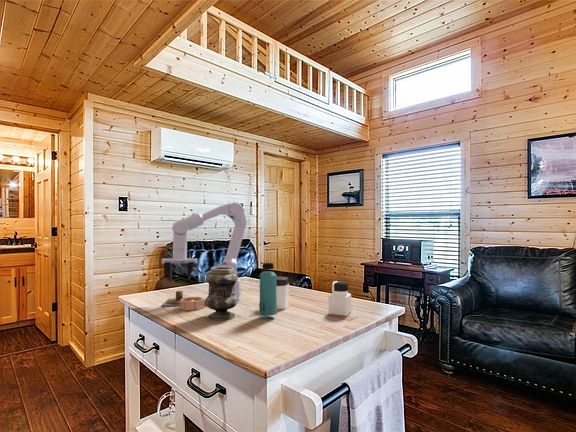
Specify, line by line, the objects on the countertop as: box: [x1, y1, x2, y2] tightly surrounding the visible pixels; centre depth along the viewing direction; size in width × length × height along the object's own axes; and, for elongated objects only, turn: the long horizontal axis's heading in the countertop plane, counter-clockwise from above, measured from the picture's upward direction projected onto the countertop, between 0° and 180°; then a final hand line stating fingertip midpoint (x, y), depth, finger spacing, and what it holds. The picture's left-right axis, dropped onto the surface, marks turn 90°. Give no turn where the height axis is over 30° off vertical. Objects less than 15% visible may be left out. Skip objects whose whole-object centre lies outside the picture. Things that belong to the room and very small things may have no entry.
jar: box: [276, 275, 290, 310], centre depth 136 cm, size 9×8×12 cm
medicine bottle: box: [328, 280, 352, 317], centre depth 127 cm, size 7×7×12 cm
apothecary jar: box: [204, 266, 239, 321], centre depth 122 cm, size 12×12×18 cm
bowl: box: [179, 296, 205, 312], centre depth 134 cm, size 9×9×4 cm
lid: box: [166, 290, 185, 304], centre depth 142 cm, size 10×10×4 cm
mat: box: [160, 298, 180, 308], centre depth 142 cm, size 12×12×1 cm
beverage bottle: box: [258, 262, 278, 317], centre depth 121 cm, size 6×7×20 cm
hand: (179, 280), depth 142 cm, fingers open, 7 cm apart
